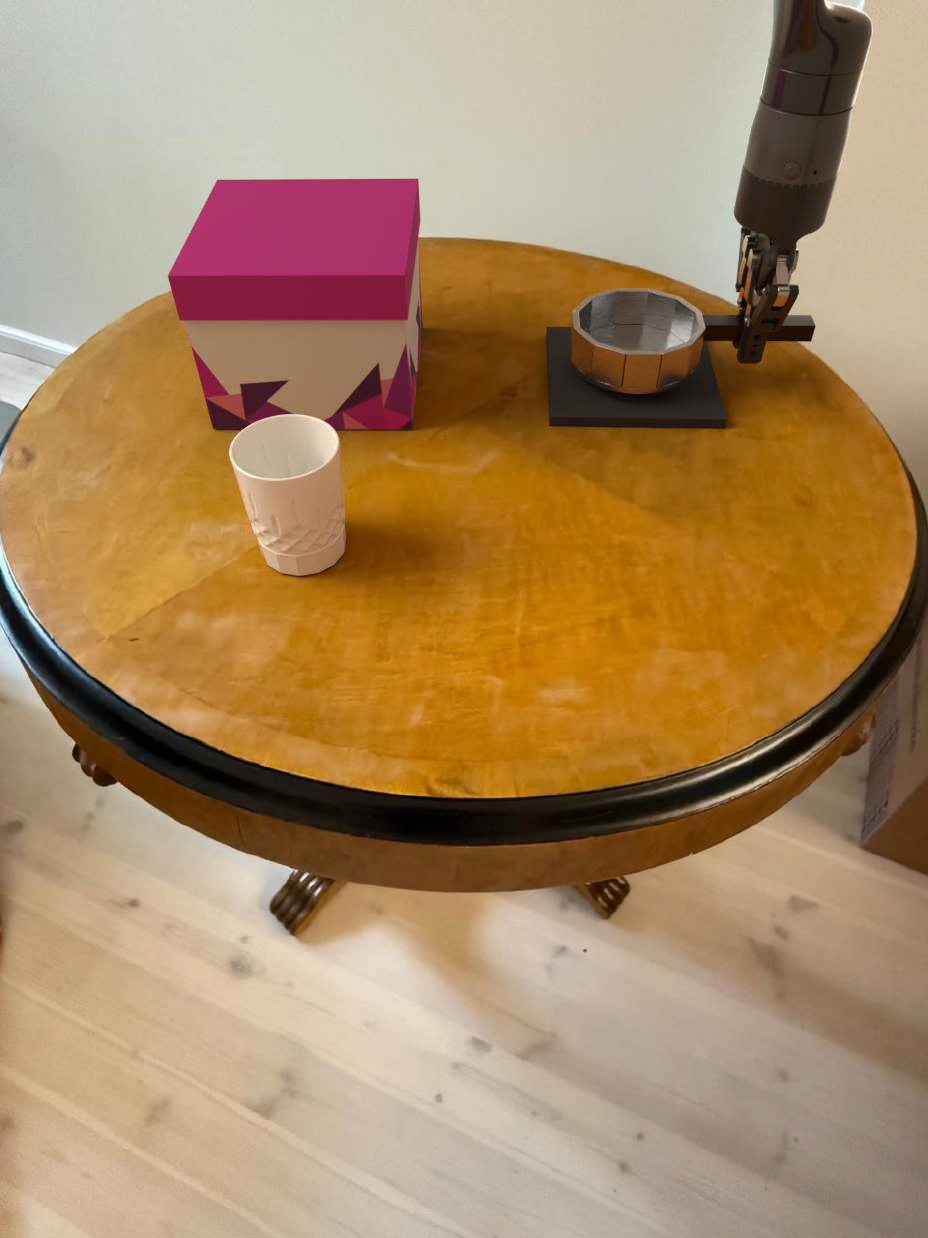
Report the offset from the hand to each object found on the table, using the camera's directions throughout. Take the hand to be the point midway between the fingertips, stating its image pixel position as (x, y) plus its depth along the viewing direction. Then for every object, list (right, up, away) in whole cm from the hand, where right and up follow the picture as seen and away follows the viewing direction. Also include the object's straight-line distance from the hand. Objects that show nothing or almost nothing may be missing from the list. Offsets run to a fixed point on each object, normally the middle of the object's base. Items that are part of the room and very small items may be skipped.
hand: (745, 353), depth 85 cm
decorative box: (-40, -1, +4) cm, 41 cm away
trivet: (-11, -2, +3) cm, 11 cm away
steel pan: (-6, 0, +1) cm, 6 cm away
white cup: (-40, -20, -13) cm, 46 cm away
